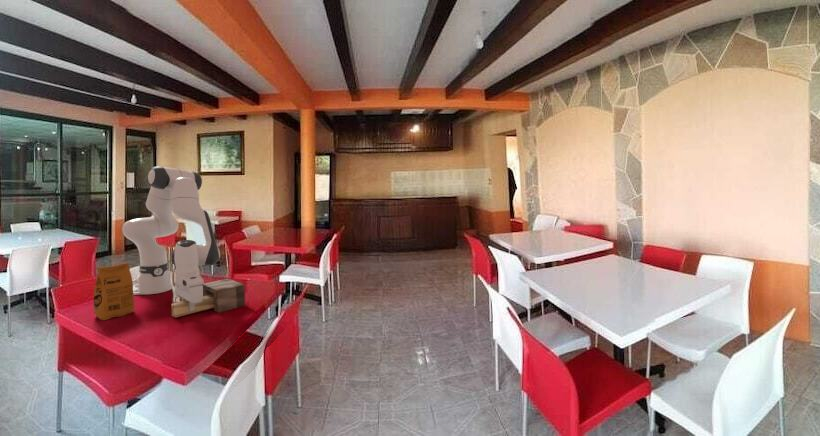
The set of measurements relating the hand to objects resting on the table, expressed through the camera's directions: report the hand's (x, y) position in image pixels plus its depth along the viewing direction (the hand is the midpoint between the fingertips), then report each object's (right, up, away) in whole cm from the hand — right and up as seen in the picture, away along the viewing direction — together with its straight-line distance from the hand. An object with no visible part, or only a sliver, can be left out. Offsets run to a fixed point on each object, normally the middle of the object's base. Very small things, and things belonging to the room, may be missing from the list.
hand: (189, 308), depth 149 cm
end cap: (+9, -1, +12) cm, 15 cm away
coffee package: (-31, -2, -2) cm, 31 cm away
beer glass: (-15, -1, +16) cm, 21 cm away
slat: (+2, -2, +3) cm, 4 cm away
